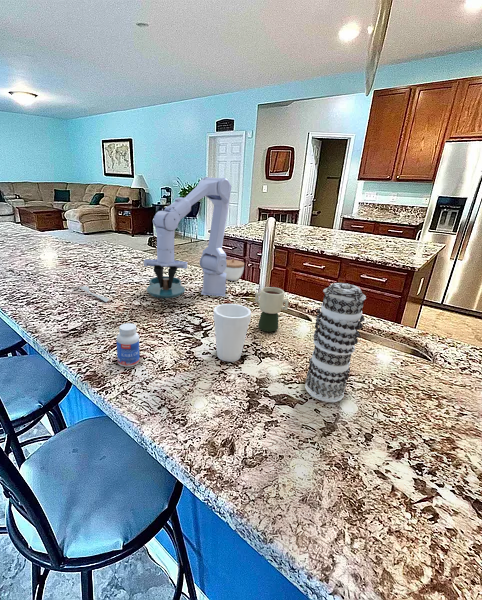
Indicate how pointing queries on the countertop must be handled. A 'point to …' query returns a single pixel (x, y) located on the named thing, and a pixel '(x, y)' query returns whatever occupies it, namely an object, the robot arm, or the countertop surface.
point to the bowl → (154, 281)
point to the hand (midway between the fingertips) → (165, 287)
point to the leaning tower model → (334, 341)
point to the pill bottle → (127, 345)
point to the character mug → (270, 307)
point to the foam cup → (230, 330)
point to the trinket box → (234, 269)
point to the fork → (94, 294)
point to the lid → (165, 289)
